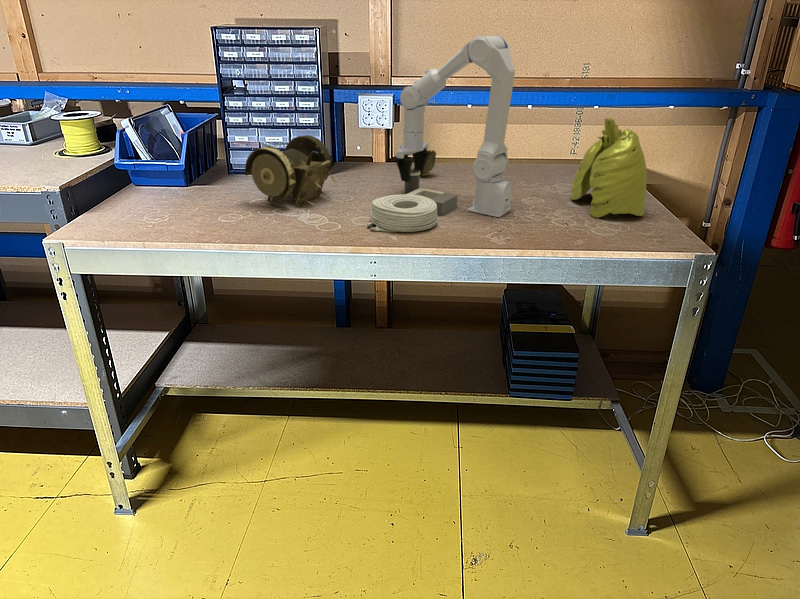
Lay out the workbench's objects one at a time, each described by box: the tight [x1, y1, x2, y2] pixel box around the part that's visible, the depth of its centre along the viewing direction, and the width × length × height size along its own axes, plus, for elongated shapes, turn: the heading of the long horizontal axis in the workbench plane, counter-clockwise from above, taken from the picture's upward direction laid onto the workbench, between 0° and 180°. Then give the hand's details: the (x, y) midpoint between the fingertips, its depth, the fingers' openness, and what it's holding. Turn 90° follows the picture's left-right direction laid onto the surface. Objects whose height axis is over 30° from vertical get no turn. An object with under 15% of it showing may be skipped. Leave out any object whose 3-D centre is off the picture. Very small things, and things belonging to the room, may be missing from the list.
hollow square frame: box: [404, 187, 459, 217], centre depth 162 cm, size 12×9×4 cm
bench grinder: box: [244, 134, 336, 207], centre depth 162 cm, size 20×22×20 cm
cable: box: [366, 194, 439, 233], centre depth 150 cm, size 18×18×6 cm
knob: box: [403, 167, 421, 195], centre depth 172 cm, size 5×5×7 cm
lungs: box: [570, 117, 648, 219], centre depth 160 cm, size 25×16×24 cm, turn 6°
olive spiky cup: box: [420, 149, 437, 178], centre depth 189 cm, size 8×7×8 cm
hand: (411, 178), depth 171 cm, fingers open, 7 cm apart
